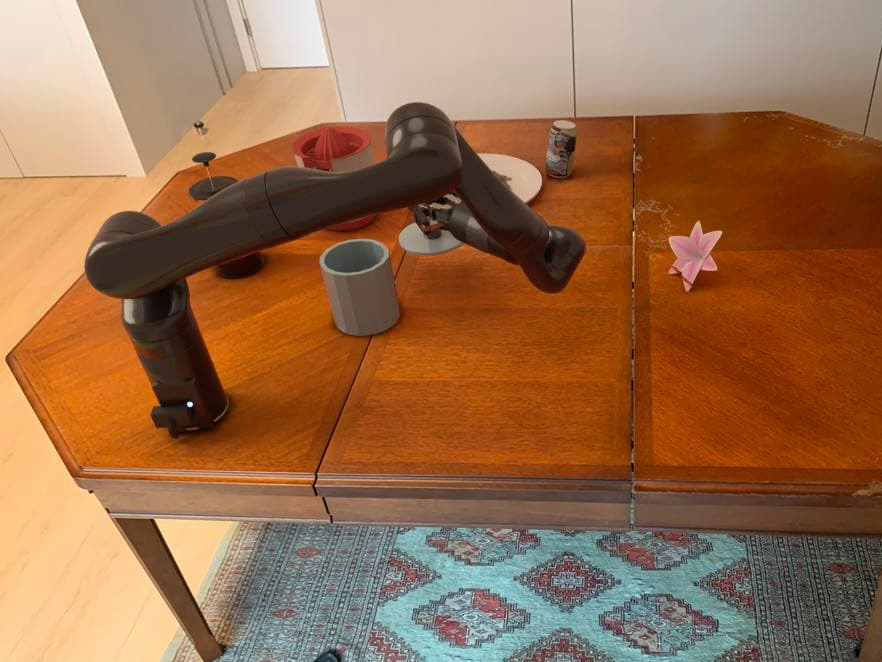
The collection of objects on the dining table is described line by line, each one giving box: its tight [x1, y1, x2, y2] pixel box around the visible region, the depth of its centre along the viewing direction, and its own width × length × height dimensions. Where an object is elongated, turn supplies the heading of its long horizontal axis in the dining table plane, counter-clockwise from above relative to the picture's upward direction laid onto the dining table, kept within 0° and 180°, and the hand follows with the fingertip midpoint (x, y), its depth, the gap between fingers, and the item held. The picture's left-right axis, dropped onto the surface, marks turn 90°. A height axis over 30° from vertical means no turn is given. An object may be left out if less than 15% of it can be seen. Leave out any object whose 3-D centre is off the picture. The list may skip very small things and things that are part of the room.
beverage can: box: [544, 119, 578, 179], centre depth 180 cm, size 6×7×12 cm
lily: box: [668, 220, 723, 292], centre depth 149 cm, size 12×12×10 cm
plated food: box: [457, 152, 543, 204], centre depth 178 cm, size 30×30×3 cm
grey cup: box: [319, 238, 401, 337], centre depth 141 cm, size 12×12×12 cm
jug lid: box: [398, 200, 464, 257], centre depth 145 cm, size 13×13×10 cm
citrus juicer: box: [291, 125, 376, 231], centre depth 165 cm, size 16×17×20 cm
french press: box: [188, 151, 265, 280], centre depth 152 cm, size 12×9×23 cm
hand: (417, 197), depth 145 cm, fingers closed on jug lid, 3 cm apart
